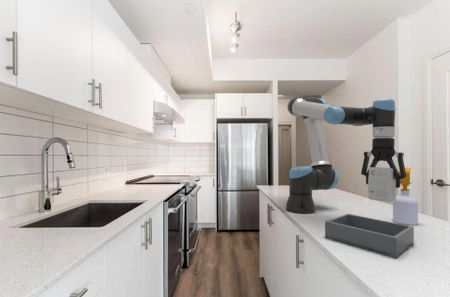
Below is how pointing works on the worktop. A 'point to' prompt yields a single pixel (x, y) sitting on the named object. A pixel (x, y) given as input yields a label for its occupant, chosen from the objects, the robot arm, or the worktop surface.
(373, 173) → the small box
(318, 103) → the robot arm
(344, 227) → the charcoal bin
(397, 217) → the soap bottle
